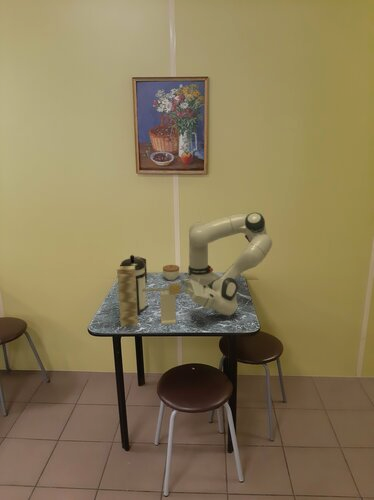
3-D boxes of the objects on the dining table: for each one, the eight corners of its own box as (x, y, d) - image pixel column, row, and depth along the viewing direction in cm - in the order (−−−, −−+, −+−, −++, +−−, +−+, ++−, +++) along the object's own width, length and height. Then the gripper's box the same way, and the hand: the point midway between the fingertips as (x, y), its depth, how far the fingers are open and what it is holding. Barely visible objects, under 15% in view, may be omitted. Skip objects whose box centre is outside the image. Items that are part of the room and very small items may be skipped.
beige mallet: (179, 290, 174) (179, 282, 173) (180, 293, 170) (180, 286, 169) (142, 292, 172) (141, 284, 171) (142, 295, 168) (141, 288, 167)
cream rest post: (174, 316, 180) (174, 289, 176) (176, 324, 172) (175, 295, 168) (160, 317, 179) (160, 290, 175) (161, 324, 171) (160, 296, 167)
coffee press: (116, 306, 192) (112, 253, 183) (145, 301, 197) (142, 249, 189) (122, 320, 176) (118, 263, 168) (153, 315, 181) (151, 259, 173)
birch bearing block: (137, 319, 177) (134, 265, 169) (137, 325, 171) (134, 269, 163) (121, 320, 176) (117, 266, 168) (120, 326, 170) (117, 270, 162)
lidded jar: (182, 277, 232) (182, 264, 229) (173, 283, 223) (172, 268, 221) (169, 274, 238) (169, 261, 235) (159, 279, 229) (159, 265, 227)
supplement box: (133, 281, 227) (131, 257, 222) (139, 279, 230) (138, 255, 226) (141, 284, 221) (140, 260, 216) (147, 282, 224) (146, 258, 220)
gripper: (206, 283, 184) (183, 272, 181) (214, 300, 164) (188, 287, 161) (200, 293, 185) (177, 282, 182) (207, 311, 166) (181, 298, 162)
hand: (182, 284), depth 171 cm, fingers open, 8 cm apart
